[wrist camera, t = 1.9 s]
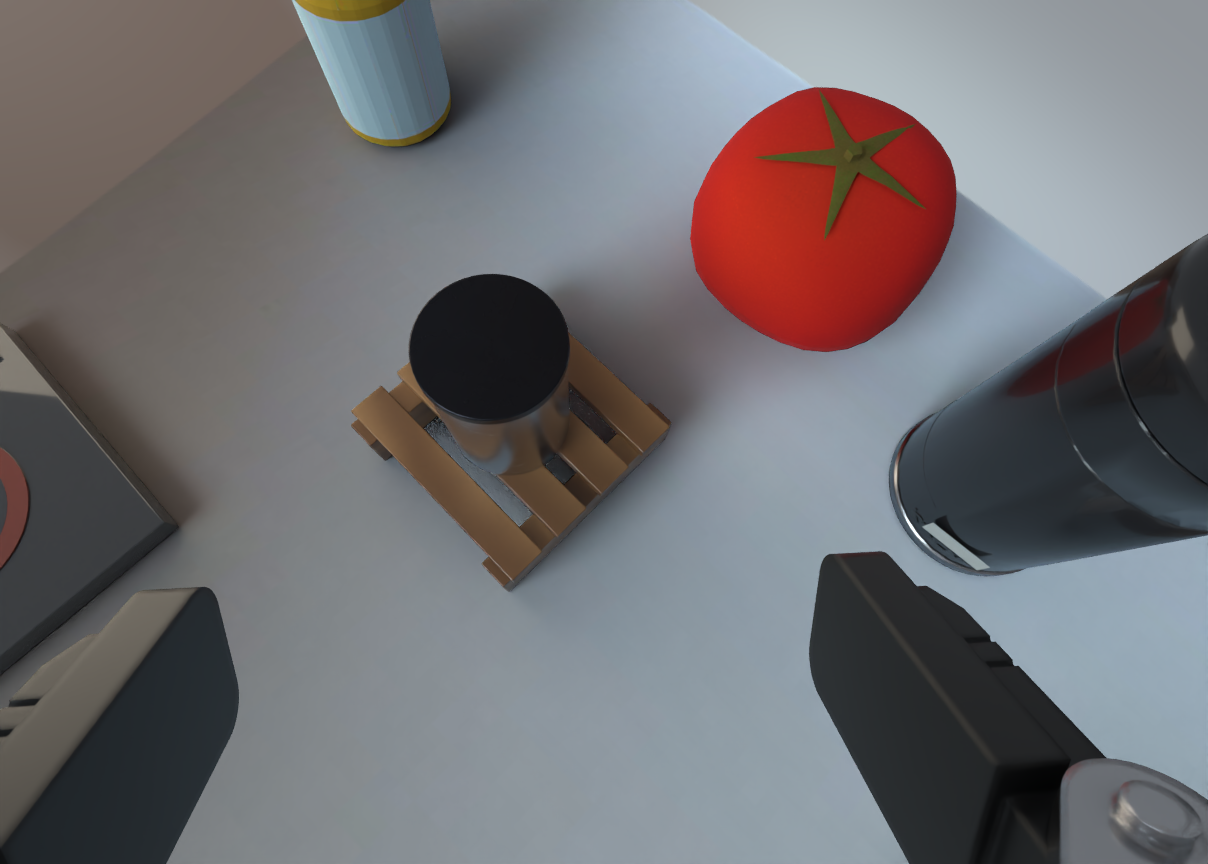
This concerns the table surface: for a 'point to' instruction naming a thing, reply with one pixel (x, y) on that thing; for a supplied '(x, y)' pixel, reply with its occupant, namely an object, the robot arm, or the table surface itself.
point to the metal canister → (496, 370)
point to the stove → (59, 505)
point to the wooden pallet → (555, 507)
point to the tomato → (824, 218)
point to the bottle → (381, 65)
